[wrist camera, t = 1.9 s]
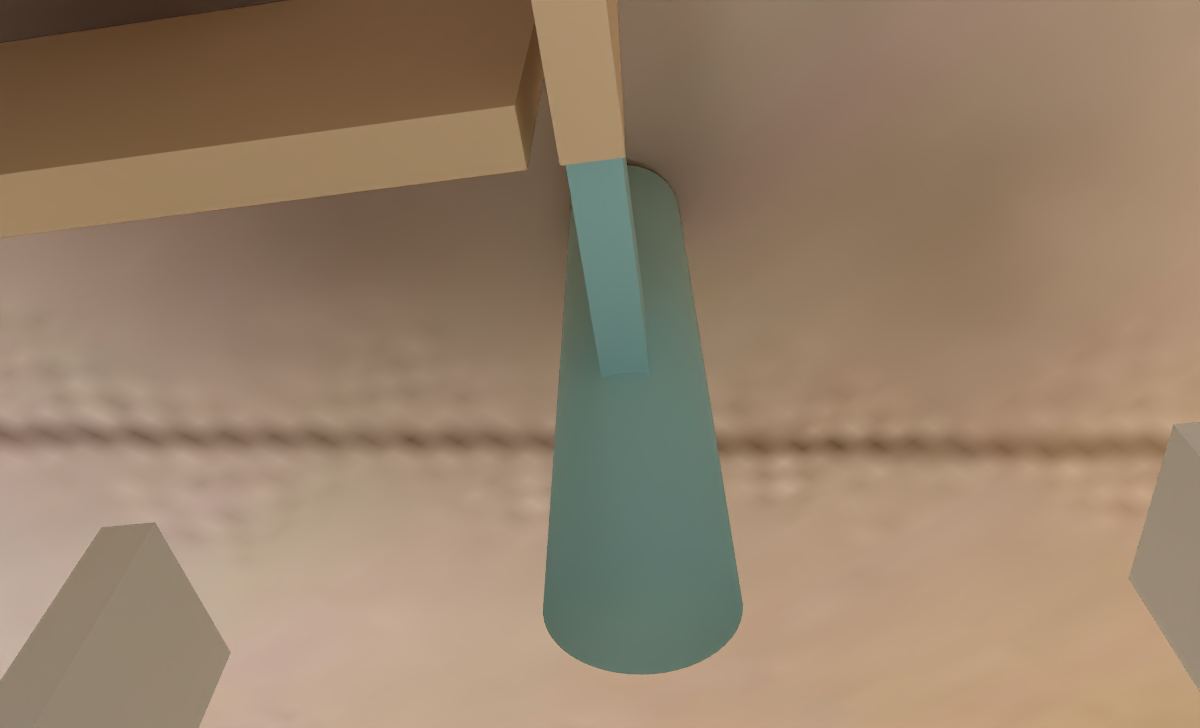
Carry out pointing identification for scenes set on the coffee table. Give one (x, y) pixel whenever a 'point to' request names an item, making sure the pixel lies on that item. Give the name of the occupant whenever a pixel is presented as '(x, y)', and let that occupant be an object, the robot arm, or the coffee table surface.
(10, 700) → the robot arm
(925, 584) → the coffee table surface
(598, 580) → the teal-tan flat piece
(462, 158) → the carton
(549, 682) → the coffee table surface
